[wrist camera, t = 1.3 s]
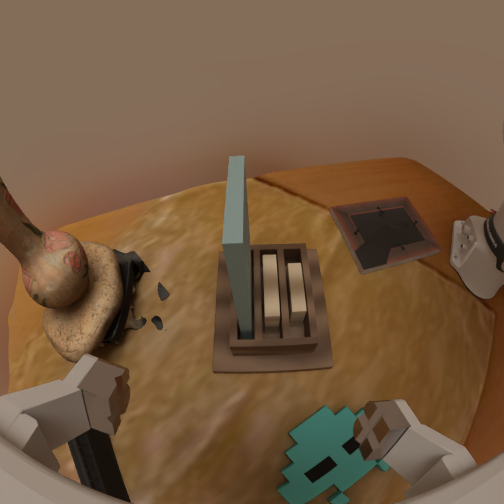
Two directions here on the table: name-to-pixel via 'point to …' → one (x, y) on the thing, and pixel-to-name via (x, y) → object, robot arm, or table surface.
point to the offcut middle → (270, 295)
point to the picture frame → (384, 233)
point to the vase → (74, 283)
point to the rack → (288, 338)
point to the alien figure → (325, 457)
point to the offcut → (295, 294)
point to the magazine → (97, 464)
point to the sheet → (238, 245)
